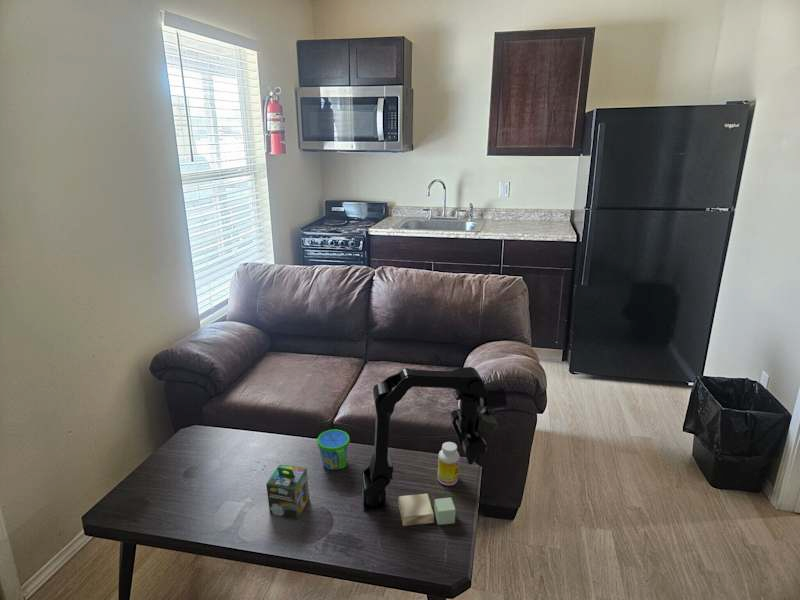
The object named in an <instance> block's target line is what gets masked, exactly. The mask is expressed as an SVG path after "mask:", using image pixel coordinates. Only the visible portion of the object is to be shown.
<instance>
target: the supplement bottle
mask: <svg viewBox="0 0 800 600" xmlns="http://www.w3.org/2000/svg"><path fill="white" fill-rule="evenodd" d="M437 466H438V467H437V480H438V481H439V483H440V484H442V485H444V486H454V485H455V484H456V483H458V481H459V471H460V469H459V468H460V452H458V445H457V444H456V443H455V442H452V441H446V442H444V443H442V445H441V450H439V452H438V462H437Z"/></svg>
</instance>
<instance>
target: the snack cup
mask: <svg viewBox="0 0 800 600" xmlns="http://www.w3.org/2000/svg"><path fill="white" fill-rule="evenodd" d="M350 441H351V439H350V436H349V434H348V433H347V432H346V431H344V430H341V429H336V428H335V429H329V430H326V431H323V432H321V433H320V434H319V435H318V437H317V439H316V443H317V446H318V448H319V452H320V456H321V462H322V464H323V467H324V468H326V470H332V471H334V470H335V471H336V470H342V469H344V468H345V467H347V455H348V450H349V449H348V447H349V445H350V443H351V442H350Z"/></svg>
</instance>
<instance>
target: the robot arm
mask: <svg viewBox="0 0 800 600" xmlns="http://www.w3.org/2000/svg"><path fill="white" fill-rule="evenodd" d="M412 388H434V389H435V388H437V389H439V388H440V389H452V390H455V391H453V394H452V395H453V396H454V398H455V400H456V401H459V408H457V409H454V410H452V411H451V412H450V415H449V416H450V420H451V421H450V422H451V424H452V427H453V430H454V432H455V434H456V437H457V439H458V442H459V445H460V446H462V449H463V451H464V455H465V458H466V461H467V463H468V465H473V464H474V462H475V460H476V457H478V455H479V454H483V453H486V452H487V451H488V444H487V443H486V441H485V438H484V437H482V436H481V435H480V436H478V435H477V434H478V433H482V431H483V432H484V431H485V432H489V433H490V434H494V433H495V432H496V429H497V427H498V425H499V423H498V421H497V420H496V418H495V417H494V416H493V414H491V412H490V411H491V410H503V409H504V410H505V409H506V408H507V404H508V401H507V395H506V391H505V387H504V386H503V385H497V386H487V387H486V386H485V383H484V380H483V378H482V376H481V375H480V374H479V372H478V370H477V369H476V368H475V367H471V366H465V367H459V368H456V369H454V370H429V369H428V370H427V369H412V368H411V369H410V368H409V367H406V368H403V369H402V370H400V371H399V372H397V373H395V374H392V375H390V376H388V377H386V378H385V379H384V380H383V381H380V382H378V383H376V384H375V385H374V386H373V388H372V394H373V395H372V396H373V401H374V409H375V429H374V446H373V449H374V451H373V455H372V456H371V459H370V461H369V465H368V466H367V467H366V468H365V469H364V470H363V471H362V472H361V474H362V481H363V482H362V484H361V487H362V489H361V491H362V493H361V494H362V495H361V501H362V511H364V512H366V511H367V512H368V511H377V510H385V509H386V505H385V503H386V502H387V494H386V493H387V491H386V488H387V486H390V483H391V481H392V480H394V477H393V472H394V464H393V459H392V455H390V454H389V453H388V452H389V439H390V422H391V420H390V419H391V417H392V414H394V410H395V407H396V404H397V403H398V402H400V401H401V400H402V399H403V397H404V396H405V395H406V394H407V393H408V391H409V390H410V389H412ZM480 406H481V407H482V409H481V410H480ZM388 454H389V455H388Z"/></svg>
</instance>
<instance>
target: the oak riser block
mask: <svg viewBox="0 0 800 600" xmlns="http://www.w3.org/2000/svg"><path fill="white" fill-rule="evenodd" d="M397 499H398V500H397V501H398V507H399V513H400V518H401V523H402V526H403V527H405V526H414V525H415V526H416V525H417V526H418V525H426V524H434V523H435V514H434V510H433V508H432V507H433V506H432V504H431V500H430V497H429V494H428V493H419V494H411V495H410V494H409V495H408V494H407V495H400V496H398V498H397Z"/></svg>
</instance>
